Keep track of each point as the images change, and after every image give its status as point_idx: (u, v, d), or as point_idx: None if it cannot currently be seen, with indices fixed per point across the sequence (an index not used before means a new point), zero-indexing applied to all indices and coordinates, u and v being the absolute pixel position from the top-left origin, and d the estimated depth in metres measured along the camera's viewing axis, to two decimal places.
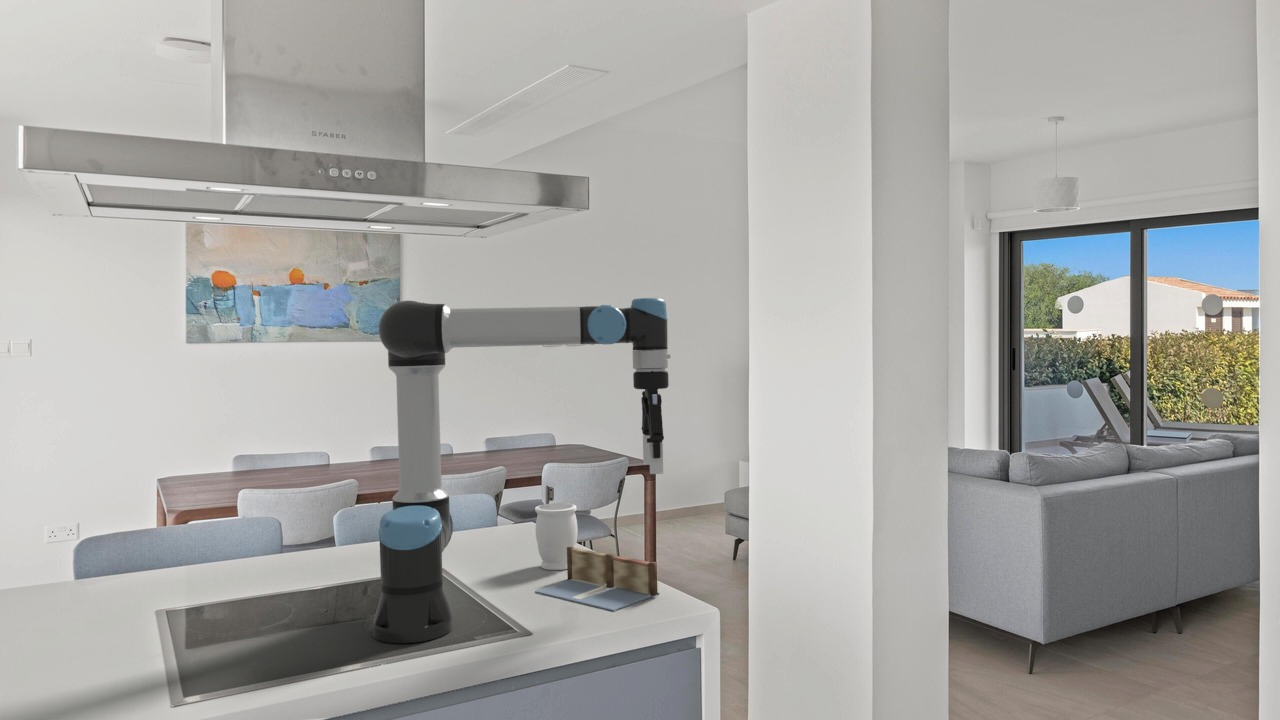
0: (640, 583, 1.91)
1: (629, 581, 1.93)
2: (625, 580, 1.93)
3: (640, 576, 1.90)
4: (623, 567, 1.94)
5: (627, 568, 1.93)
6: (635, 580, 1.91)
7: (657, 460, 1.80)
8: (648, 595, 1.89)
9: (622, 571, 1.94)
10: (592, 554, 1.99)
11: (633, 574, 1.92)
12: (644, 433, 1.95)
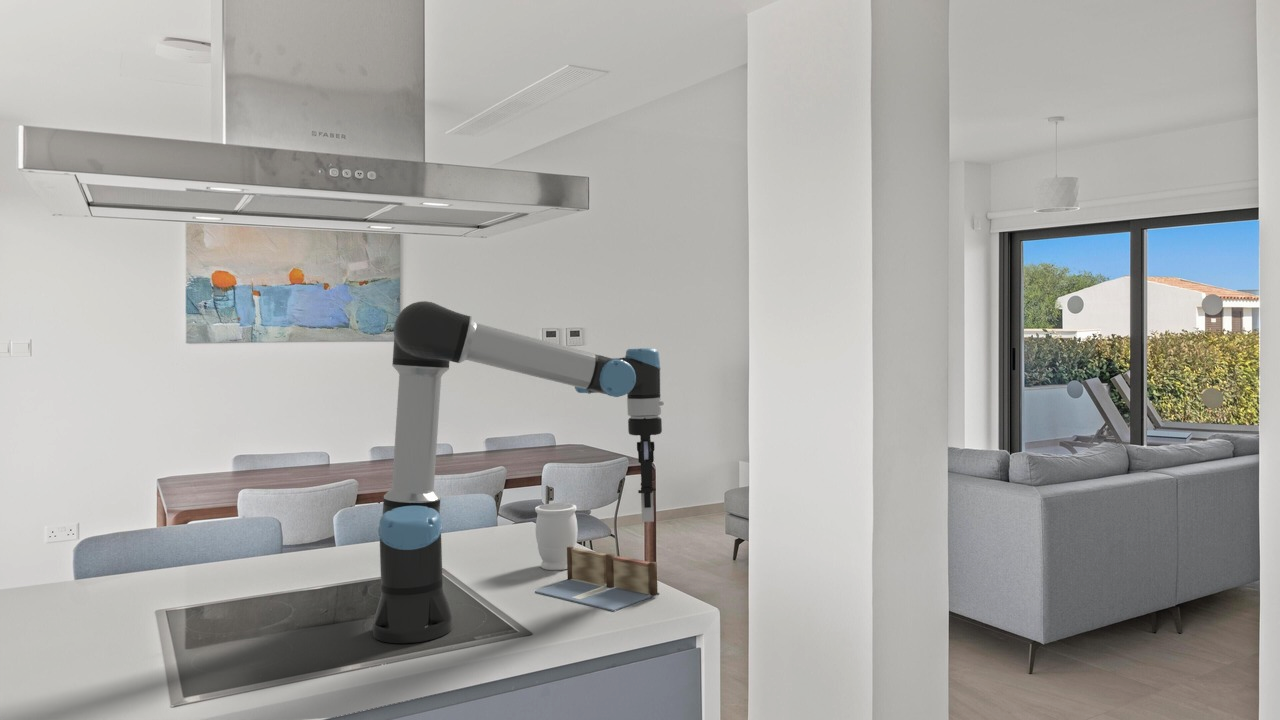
0: (640, 583, 1.91)
1: (629, 581, 1.93)
2: (625, 580, 1.93)
3: (640, 576, 1.90)
4: (623, 567, 1.94)
5: (627, 568, 1.93)
6: (635, 580, 1.91)
7: (648, 509, 1.96)
8: (648, 595, 1.89)
9: (622, 571, 1.94)
10: (592, 554, 1.99)
11: (633, 574, 1.92)
12: None
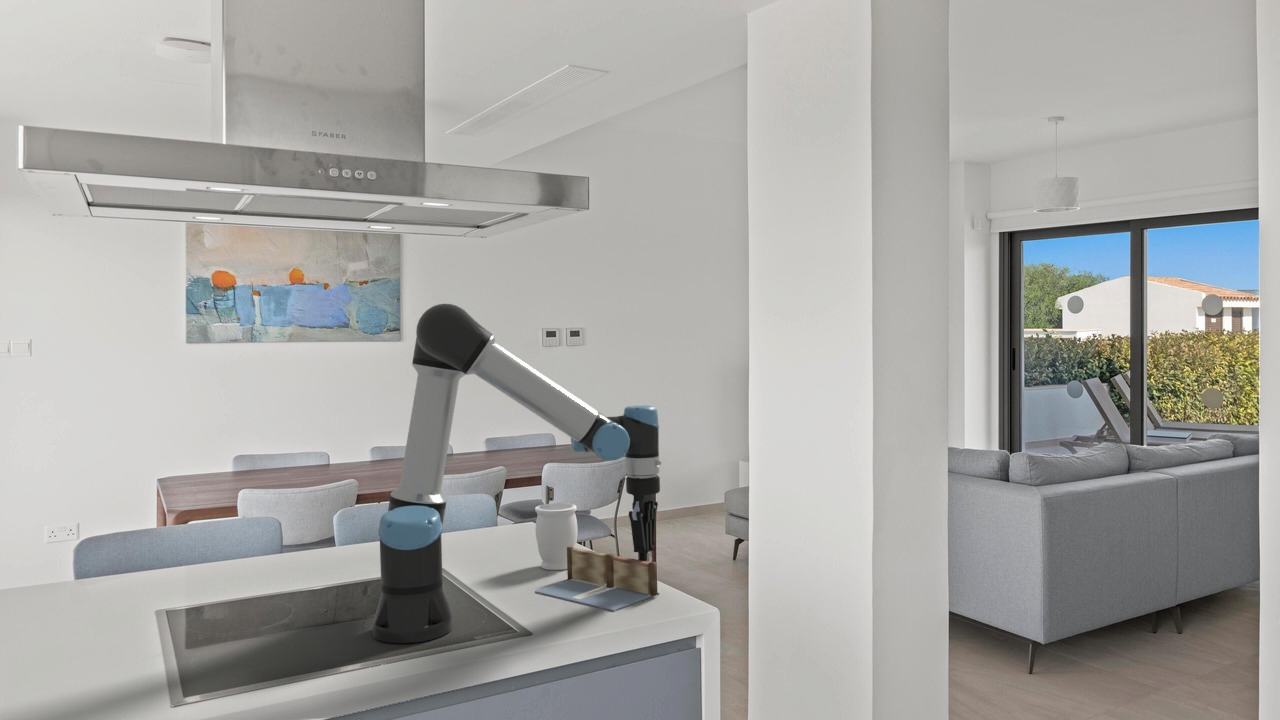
0: (640, 583, 1.90)
1: (629, 581, 1.93)
2: (625, 580, 1.93)
3: (640, 576, 1.90)
4: (623, 567, 1.94)
5: (627, 568, 1.93)
6: (635, 580, 1.91)
7: None
8: (648, 595, 1.89)
9: (622, 571, 1.94)
10: (592, 554, 1.99)
11: (633, 574, 1.92)
12: None
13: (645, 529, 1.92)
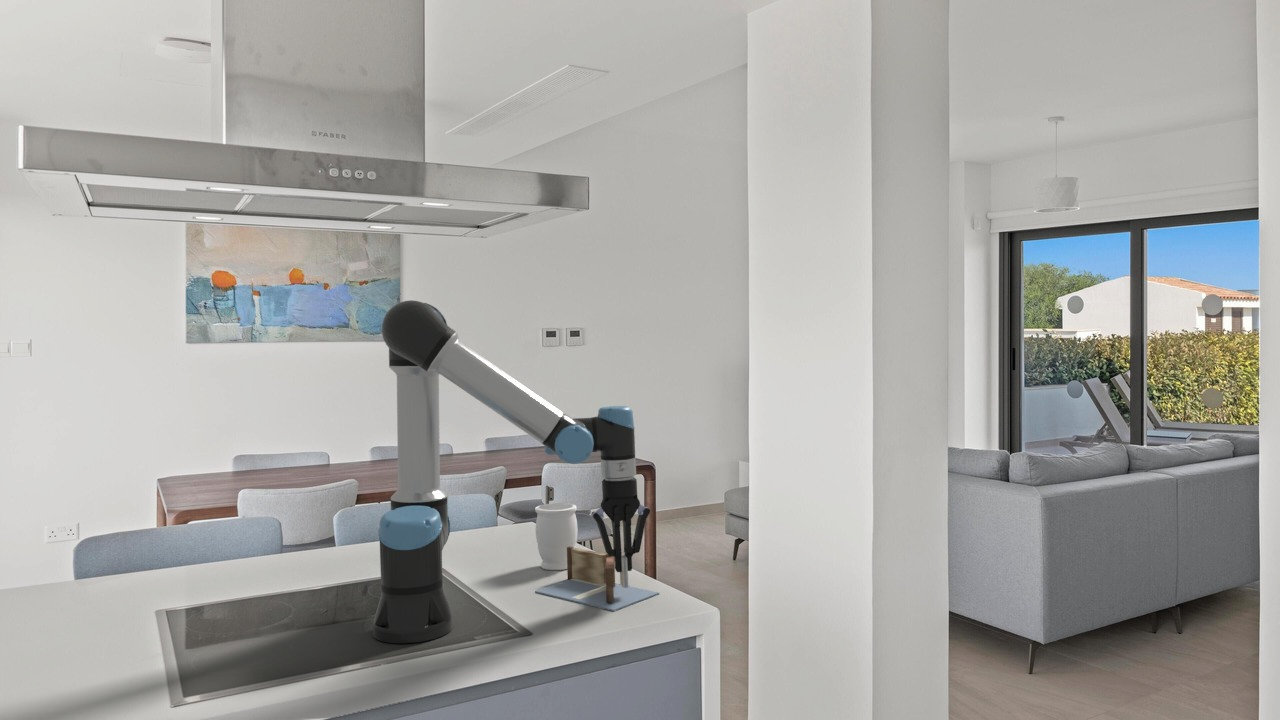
0: None
1: None
2: None
3: None
4: None
5: None
6: None
7: (621, 574, 1.89)
8: (648, 595, 1.89)
9: None
10: (592, 554, 1.99)
11: None
12: None
13: (614, 533, 1.87)
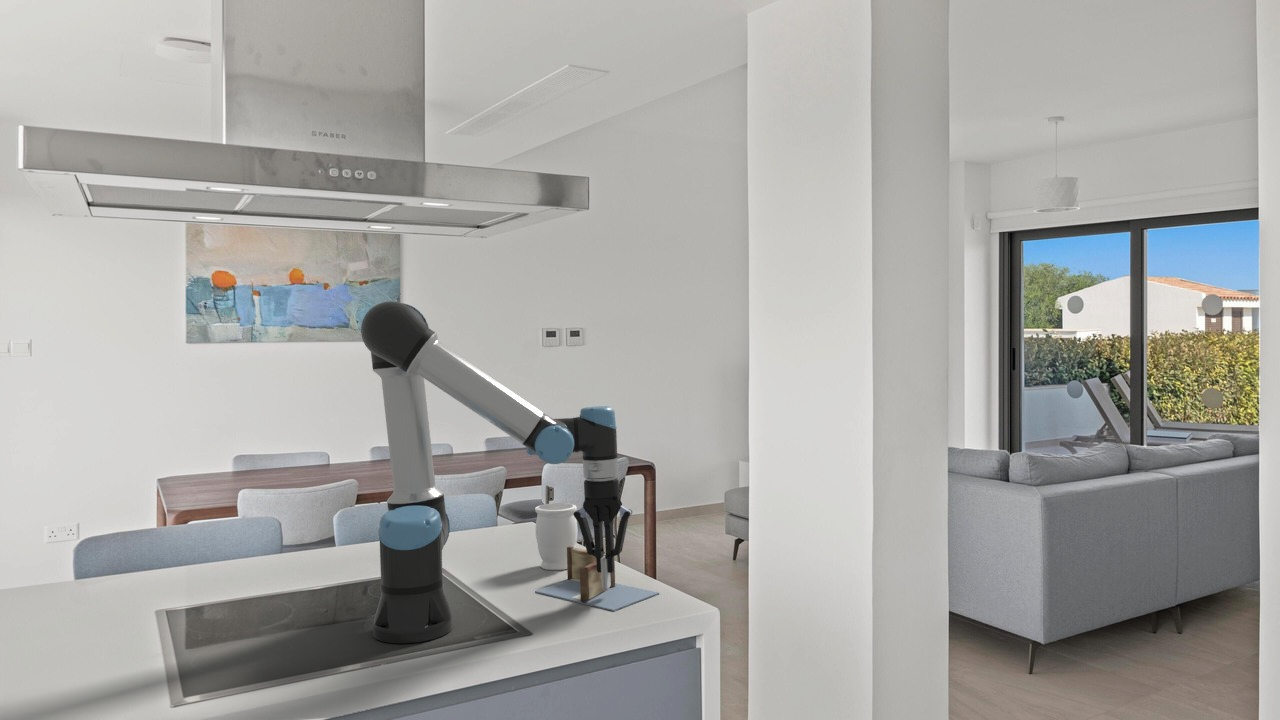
0: None
1: None
2: None
3: None
4: None
5: None
6: None
7: None
8: (648, 595, 1.89)
9: None
10: None
11: None
12: None
13: None
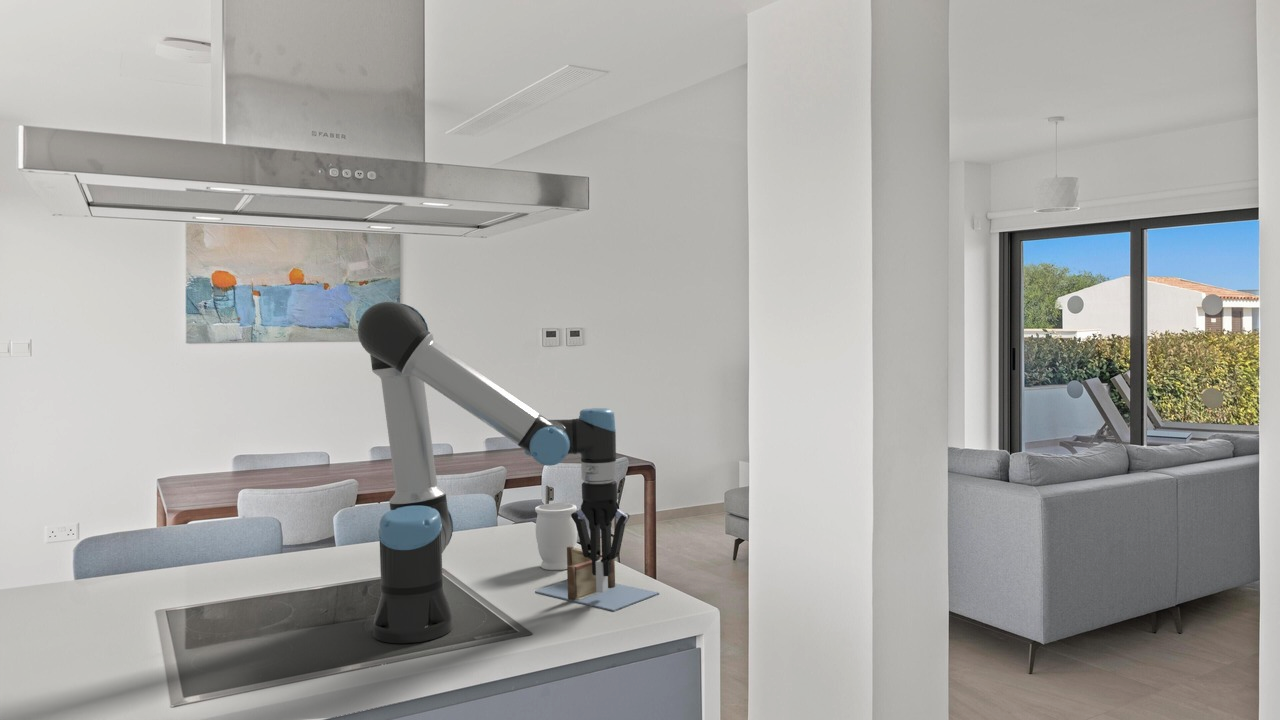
0: None
1: None
2: None
3: None
4: None
5: None
6: None
7: None
8: (648, 595, 1.89)
9: None
10: None
11: None
12: None
13: None
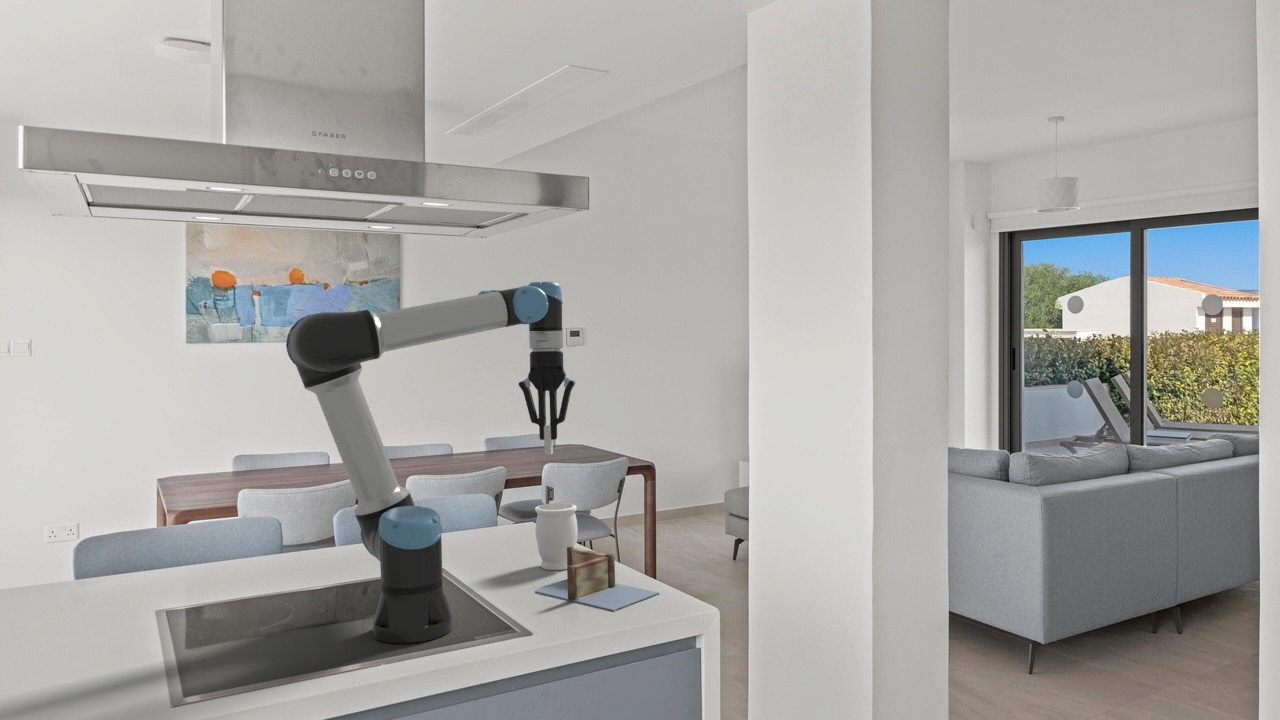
0: None
1: None
2: None
3: None
4: None
5: None
6: None
7: None
8: (648, 595, 1.89)
9: None
10: (592, 554, 1.99)
11: None
12: None
13: None
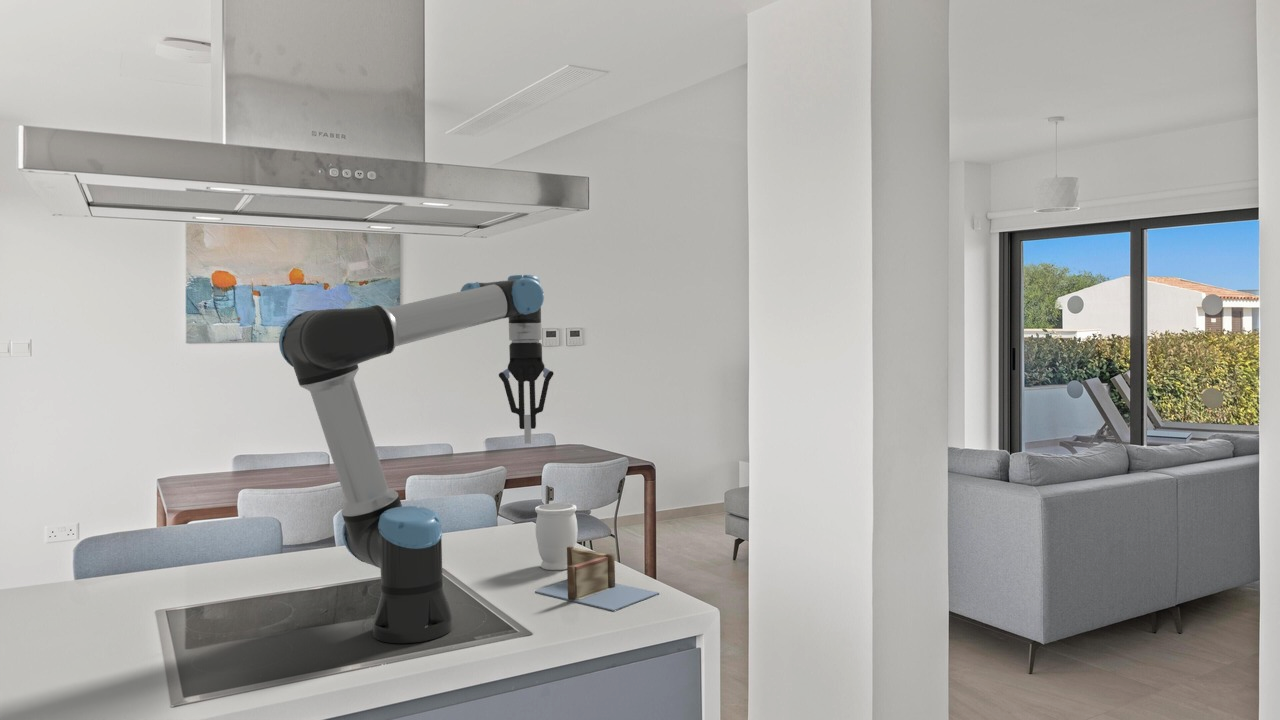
0: None
1: None
2: None
3: None
4: None
5: None
6: None
7: None
8: (648, 595, 1.89)
9: None
10: (592, 554, 1.99)
11: None
12: None
13: None
